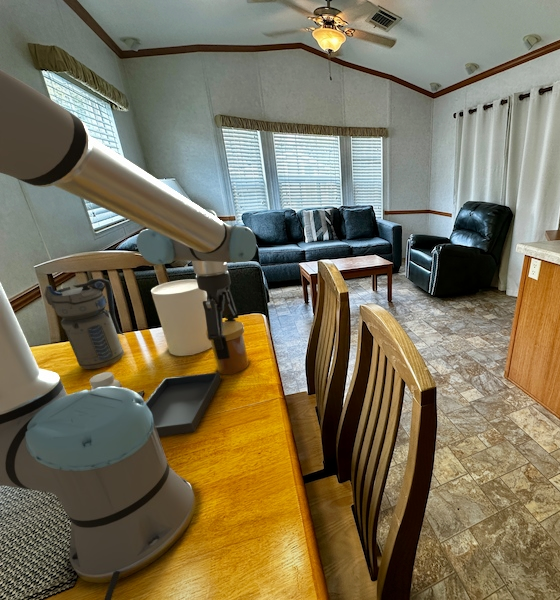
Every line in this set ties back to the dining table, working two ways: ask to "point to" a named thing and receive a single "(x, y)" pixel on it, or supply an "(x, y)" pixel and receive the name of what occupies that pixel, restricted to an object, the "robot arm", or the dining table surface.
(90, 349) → the beverage bottle
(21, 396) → the robot arm
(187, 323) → the canister
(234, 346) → the jar
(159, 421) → the tray
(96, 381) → the pill bottle
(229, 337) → the lid
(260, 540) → the dining table surface
